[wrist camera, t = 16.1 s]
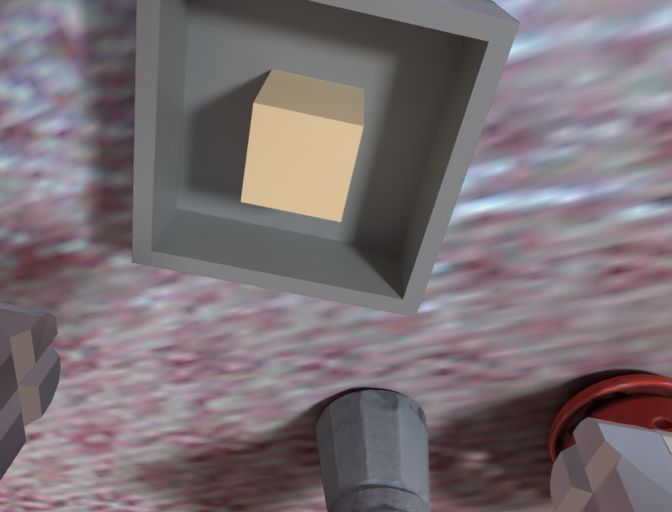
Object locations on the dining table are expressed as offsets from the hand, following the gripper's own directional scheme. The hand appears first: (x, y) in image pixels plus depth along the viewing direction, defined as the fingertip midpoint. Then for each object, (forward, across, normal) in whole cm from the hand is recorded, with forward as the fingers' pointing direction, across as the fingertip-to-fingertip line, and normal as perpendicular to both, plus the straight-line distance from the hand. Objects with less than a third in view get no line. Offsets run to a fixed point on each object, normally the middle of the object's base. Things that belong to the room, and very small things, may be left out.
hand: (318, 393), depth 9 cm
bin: (+25, +2, +5) cm, 26 cm away
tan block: (+24, +2, +5) cm, 25 cm away
